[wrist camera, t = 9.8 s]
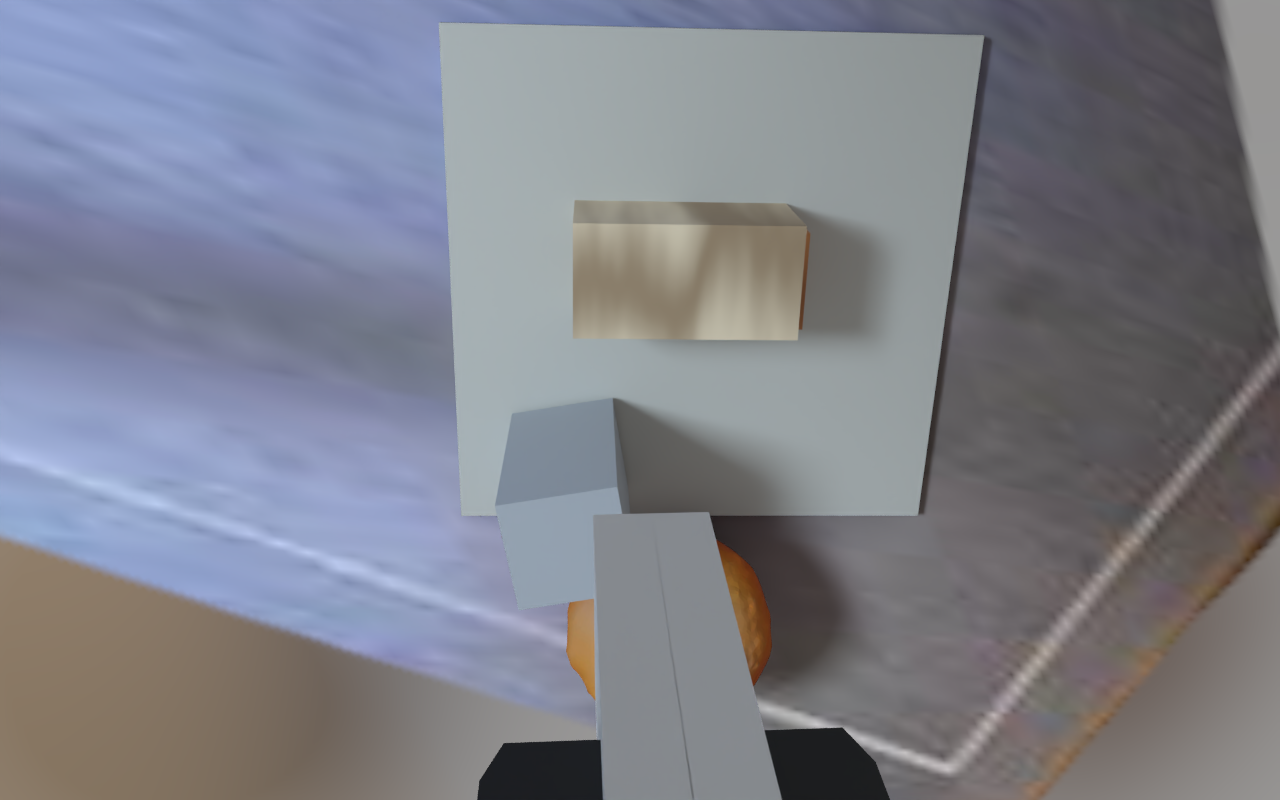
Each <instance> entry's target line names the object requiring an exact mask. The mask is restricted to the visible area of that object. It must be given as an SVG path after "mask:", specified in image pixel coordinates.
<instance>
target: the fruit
mask: <svg viewBox="0 0 1280 800" xmlns="http://www.w3.org/2000/svg"><path fill="white" fill-rule="evenodd" d="M716 542H717V546H718V550H719V554H720V558H721V562H722V566H723V570H724V573H725V577H726V581H727V585H728V589H729V593H730V597H731V601H732V605H733V609H734V613H735V617H736V621H737V625H738V629H739V633H740V636H741V640H742V644H743V648H744V652H745V656H746V660H747V664H748V668H749V672H750V676H751V680H752V684H753V686H754V685H755V683H756V681H757V680H758V678H759V676H760V675H761V673H762V671H763V669H764V667H765V665H766V663H767V661H768V659H769V656H770V652H771V648H772V641H771V618H770V612H769V610H768V607H767V604H766V601H765V597H764V594H763V591H762V588H761V585H760V583H759V580H758V578H757V576H756V574H755V572H754V570H753V568H752V567H751V566H750V565H749V564H748V563H747V562H746V561H745V560H744V559H743V558H742V557H740V556H739V555H738V554H737V553H736V552H734V551H733V550H732V549H730V548H729V547H727V546H726V545H724V544H723V543H721V542H720V541H718V540H716ZM566 652H567V655H568V658H569V661H570V664H571V666H572V668H573V669H574V670H575V671H576V672H577V673H578V674H579V675H580V677H581V678H582V680H583V682H584V683H585V686H586V688H587V691H588V693H589V694H591V696H592V697H593V698H594V700H595V640H594V599H588V600H582V601H575V602H570V604H569V607H568V634H567V649H566Z"/></svg>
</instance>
